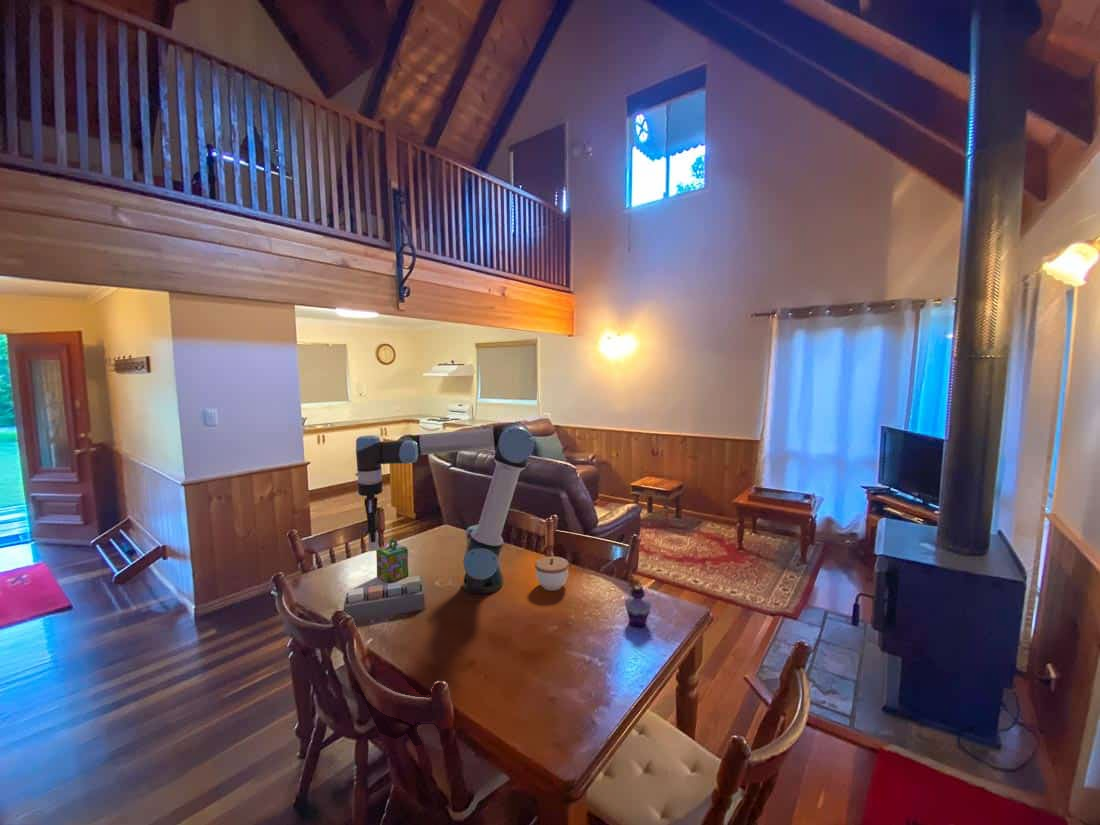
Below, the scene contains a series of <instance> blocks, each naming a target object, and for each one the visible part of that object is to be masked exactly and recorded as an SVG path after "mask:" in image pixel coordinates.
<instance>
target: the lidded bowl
mask: <svg viewBox="0 0 1100 825" xmlns="http://www.w3.org/2000/svg"><path fill="white" fill-rule="evenodd" d="M569 564H570V562H569V561H568V560H567V559H566V558H563V557H560V556H544V557H541V558H539V559H537V560H536V561H535V564H534V568H535V576H536V579H537V582H538V584H539V585H540V586H541V587H542V588H543V589H544V590H545V591H548V592H549V591H553V592H554V591H558V590H561V588H562V587H563V586H564V585H565V583H566V581H567V579H568V576H569V566H570V565H569Z"/></svg>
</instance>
